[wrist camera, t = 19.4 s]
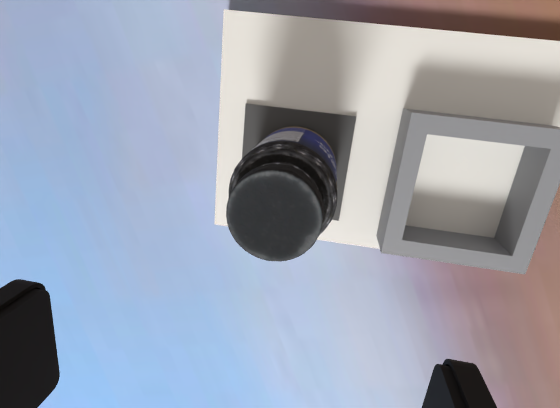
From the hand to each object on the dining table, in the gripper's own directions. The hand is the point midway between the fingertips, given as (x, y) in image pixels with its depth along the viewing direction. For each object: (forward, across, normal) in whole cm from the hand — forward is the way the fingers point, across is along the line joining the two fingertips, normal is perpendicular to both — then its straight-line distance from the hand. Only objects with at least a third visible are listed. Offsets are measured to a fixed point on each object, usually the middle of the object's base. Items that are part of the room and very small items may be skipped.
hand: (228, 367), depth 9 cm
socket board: (+22, -5, -2) cm, 23 cm away
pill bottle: (+20, +1, 0) cm, 20 cm away
